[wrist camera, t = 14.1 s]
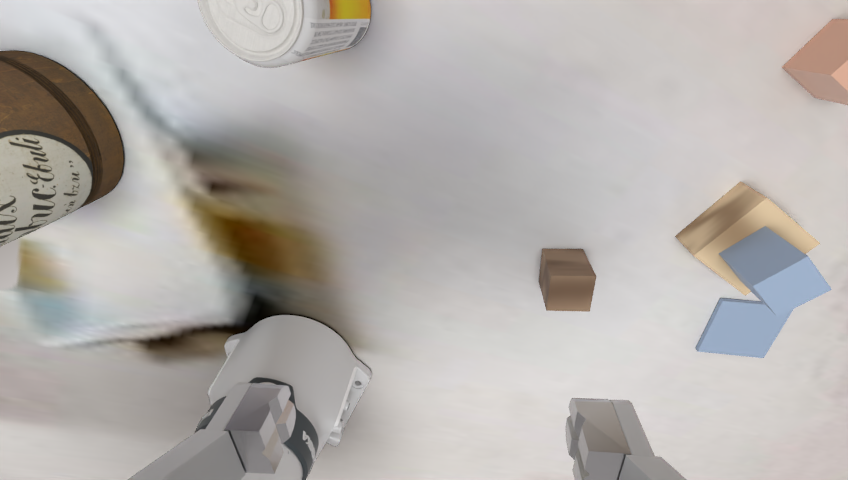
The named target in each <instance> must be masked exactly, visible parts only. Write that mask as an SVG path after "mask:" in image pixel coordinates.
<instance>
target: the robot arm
mask: <svg viewBox="0 0 848 480" xmlns="http://www.w3.org/2000/svg"><path fill="white" fill-rule="evenodd" d="M224 347H225V351H226V355H227V360H226V361H225V363H224V365H223V366H222V368H221V370H220V371H219V373H218V375H217V376H216V378H215V380H214V381H213V383H212V385H211V386H210V388H209V391H208V396H209V401H210V404H211V407H210V409H209V410H208V412H207V413H206V414H205V415H204V416H203V418H202V419H201V421H200V422H199V424H198V426H197V428H196V431H195V433H194V434H193V435H191V436H190V437H188V438H187V439H186V440H184V441H183V442H181V443H180V444H178V445H177V446H175V447H174V448H173V449H171V450H170V451H168V452H167V453H165V454H164V455H162V456H161V457H160V458H158V459H157V460H155V461H154V462H152V463H151V464H149V465H148V466H147V467H145V468H144V469H142V470H141V471H139V472H138V473H136V474H135V475H134V476H132V477H131V478H129V479H128V480H306V478H307V476H308V474H309V473H310V471H311V469H312V466H313V464H314V461H315V460H316V459H317V457H318V455H319V454H320V452H321V450H322V448H323V446H324V445H325V443H328V444H330V445H333V446H338V445H339V442H340V440H341V437H342V434H343V431H344V427H345V425H346V423H347V421H348V419H349V418H350V416H351V414H352V412H353V410H354V409H355V407H356V405H357V403H358V401H359V399H360V398H361V396H362V394H363V392H364V390H365V388H366V387H367V385H368V383H369V381H370V378H371V376H372V373H371V371H370V370H369V368H368V367H366V366H365V365H364V364H363V363H361V362H360V361H359V360H357V359H356V357H355V356H354V355H353V353H352V351H351V350H350V348H349V347H348V345H347V344H346V342H345V341H344V340H343V339H342V338H341V337H340V336H339V335H338V334H337V333H335V332H334V331H333V330H332V329H330V328H328V327H327V326H325V325H323V324H321V323H319V322H317V321H314V320H312V319H309V318H305V317H301V316H295V315H277V316H272V317H268V318H265V319H263V320H261V321H259V322H258V323H256V324H255V325H254V326H253V327H251V328H250V329H249V330H248V331H246V332H244V333H240V334H236V335H233V336H231V337H229V338H228V339H227V341H226V343H225V345H224ZM569 410H570V414H571V415H570V416H569V417H568V418H567V421H566V442H567V448H568V452H569V455H570V456H571V457H572V458H573V459H574V460H575V461H574V466H573V474H574V478H575V480H686V479H685V478H684V477H683V476H682V475H681V474H680V473H679V472H677V471H676V470H675V469H674V468H673V467H672V466H671V465H670V464H668V463H667V462H666V461H665V460H664V459H663V458H662V457H658V456H654V453H653V451H652V449H651V446H650V444H649V442H648V439H647V437H646V435H645V432H644V430H643V428H642V425H641V423H640V421H639V418H638V416H637V414H636V411H635V409H634V407H633V404H632V403H631V402H630V401H629V400H608V399H585V398H572V399H571V400H570V404H569Z"/></svg>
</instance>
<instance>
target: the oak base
mask: <svg viewBox="0 0 848 480" xmlns="http://www.w3.org/2000/svg"><path fill="white" fill-rule="evenodd" d="M764 226H766V227H767V228H769V229H770V230H772V231H773V232H774V233H776V234H777V235H779V236H780V237H782V238H783V239H784V240H786V241H787V242H789V243H790V244H791V245H793V246H794V247H796V248H797V249H798V250H800V251H801V252H803V253H804V254H806V253H807V252H809V251H810V250H812V249H813V248H815V247H816V246H817V245H819V244H820V243H819V242H818V241H817V240H816V239H815V238H813V237H812V236H811V235H810V234H809V233H808V232H806V231H805V230H804V229H803V228H802V227H801V226H799V225H798V224H797V223H796V222H795V221H794V220H792V219H791V218H790V217H789V216H788V215H787V214H785V213H784V212H783V211H782V210H781V209H780V208H778V207H777V206H776V205H775V204H774V203H773V202H771V201H770V200H769V199H768V198H767V197H765V196H763V195H762V194H760V193H759V192H757V191H755V190H754V189H752V188H750V187H749V186H747V185H745V184H744V183H742V182H739V183H738V184H737V185H736V186H735V187H733V188H732V189H731V190H730V191H729V192H727V193H726V194H725V195H724V196H723V197H721V198H720V199H719V200H718V201H717V202H716V203H714V204H713V205H712V206H711V207H710V208H708V209H707V210H706V211H705V212H704V213H702V214H701V215H700V216H699V217H698V218H696V219H695V220H694V221H693V222H692V223H690V224H689V225H688V226H687V227H686V228H684V229H683V230H682V231H681V232H680V233H679V234H677V235H676V236H675V237H676V238H677V239H678V240H679V241H680V242H681V243H682V244H683V245H684V246H685V247H686V248H687V249H688V250H689V252H690V253H691V254H692V255H693V256H694V257H696V258H697V259H698V260H700V261H701V262H702V263H703V264H705V265H706V266H707V267H709V268H710V269H711V270H713V271H714V272H715V273H716V274H718V275H719V276H720V277H722V278H723V279H724V280H726V281H727V282H728V283H729V284H731V285H732V286H733V287H735V288H736V289H737V290H739V291H740V292H741V293H742V294H744V295H747V294H748V293H750V292H751V291H750V290H749V289H748V288H747V287H746V286H745V285H744V284H743V283H742V282H741V281H740V279H739V278H738V277H737V276H736V274H735V273H734V272H733V271H732V270H731V268H730V267H729V266H728V265H727V263H726V262H725V261H724V260H723V258H722V257H721V256H720V255H719V253H720V252H722V251H724V250H725V249H727V248H729V247H730V246H732V245H734V244H736V243H737V242H739V241H741V240H742V239H744V238H746V237H747V236H749V235H751V234H752V233H754V232H756V231H758V230H759V229H761V228H763V227H764Z"/></svg>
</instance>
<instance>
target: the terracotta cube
mask: <svg viewBox="0 0 848 480" xmlns="http://www.w3.org/2000/svg"><path fill="white" fill-rule="evenodd" d="M782 68H783V69H784V70H785V71H786V72H787V73H788V74H789V75H791V76H792V77H793V78H794V79H795V80H796V81H797V82H798V83H799V84H800V85H801V86H802V87H804V88H805V89H806V90H807V91H808V92H809V93H810V94H811V95H812V96H813V97H814V98H819V99H823V100H828V101H832V102H836V103H841V104H845V105H848V19H832V20H831V21H830V22H829V23H828V24H827V25H826V26H825V27H824V28H823V29H822V30H820V31H819V32H818V33H817V34H816V35H815V36H814V37H813V38H812V39H811V40H810V41H809V42H808V43H807V44H806V45H805V46H804V47H803V48H802V49H800V50H799V51H798V52H797V53H796V54H795V55H794V56H793V57H792V58H791V59H790V60H789V61H788V62H787V63H786V64H785V65H784V66H783V67H782Z"/></svg>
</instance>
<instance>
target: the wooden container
mask: <svg viewBox="0 0 848 480" xmlns="http://www.w3.org/2000/svg"><path fill="white" fill-rule="evenodd" d="M123 162H124V158H123V148H122V143H121V139H120V136H119V133H118V130H117V128H116V125H115V123H114V121H113V119H112V117H111V116H110V114H109V112H108V111H107V109H106V108H105V106H104V105H103V104H102V102H101V101H100V100H99V98H98V97H97V96H96V95H95V93H94V92H93V91H92V90H91V89H90V88H89V87H88V86H87V85H86V84H84V83H83V82H82V81H81V80H80V79H79V78H77V77H76V76H75V75H74V74H73V73H72V72H70V71H69V70H67V69H66V68H64V67H63V66H61V65H59V64H57V63H56V62H53V61H51V60H50V59H47V58H45V57H43V56H40V55H36V54H34V53H29V52H24V51H0V247H1V246H3V245H5V244H7V243H9V242H11V241H13V240H16V239H18V238H20V237H22V236H24V235H27V234H29V233H31V232H33V231H35V230H37V229H39V228H41V227H44V226H46V225H48V224H50V223H52V222H54V221H56V220H58V219H60V218H62V217H64V216H66V215H68V214H70V213H72V212H74V211H75V210H77V209H79V208H81V207H83V206H85V205H87V204H89V203H91V202H93V201H95V200H97V199H99V198H101V197H102V196H104V195H106V194H107V193H109V192H110V191H111V190H112V189H113V188H114V187H115V186H116V185H117V183H118V181H119V180H120V178H121V174H122V170H123Z"/></svg>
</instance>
